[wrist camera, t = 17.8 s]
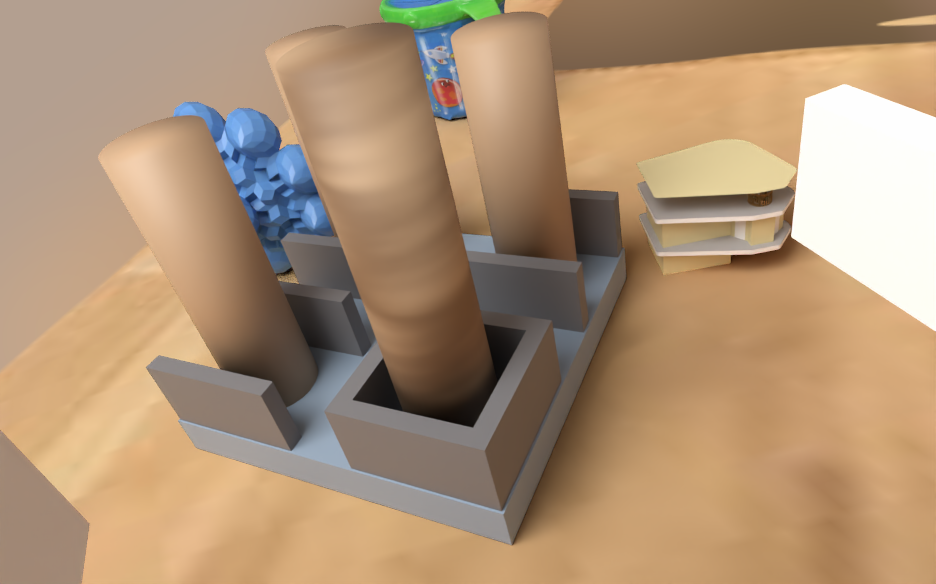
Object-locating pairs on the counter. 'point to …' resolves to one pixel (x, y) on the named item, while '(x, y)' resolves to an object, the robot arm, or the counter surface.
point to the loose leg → (394, 211)
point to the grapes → (266, 177)
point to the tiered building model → (714, 204)
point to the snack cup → (439, 42)
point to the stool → (344, 316)
